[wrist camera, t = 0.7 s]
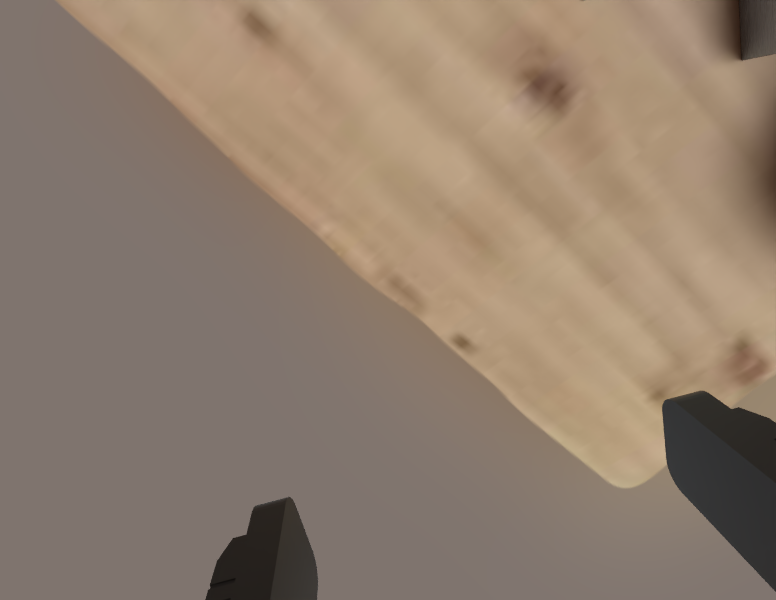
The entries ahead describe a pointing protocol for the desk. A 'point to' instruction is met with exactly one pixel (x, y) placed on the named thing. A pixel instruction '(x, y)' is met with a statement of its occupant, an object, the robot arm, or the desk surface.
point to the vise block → (757, 28)
